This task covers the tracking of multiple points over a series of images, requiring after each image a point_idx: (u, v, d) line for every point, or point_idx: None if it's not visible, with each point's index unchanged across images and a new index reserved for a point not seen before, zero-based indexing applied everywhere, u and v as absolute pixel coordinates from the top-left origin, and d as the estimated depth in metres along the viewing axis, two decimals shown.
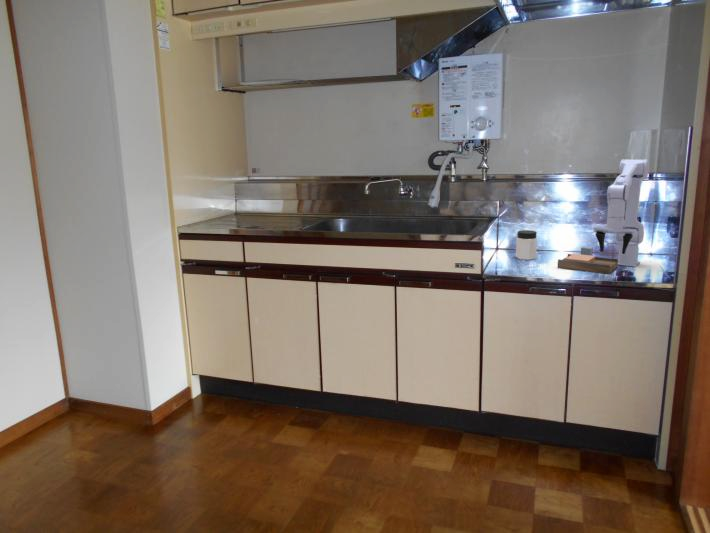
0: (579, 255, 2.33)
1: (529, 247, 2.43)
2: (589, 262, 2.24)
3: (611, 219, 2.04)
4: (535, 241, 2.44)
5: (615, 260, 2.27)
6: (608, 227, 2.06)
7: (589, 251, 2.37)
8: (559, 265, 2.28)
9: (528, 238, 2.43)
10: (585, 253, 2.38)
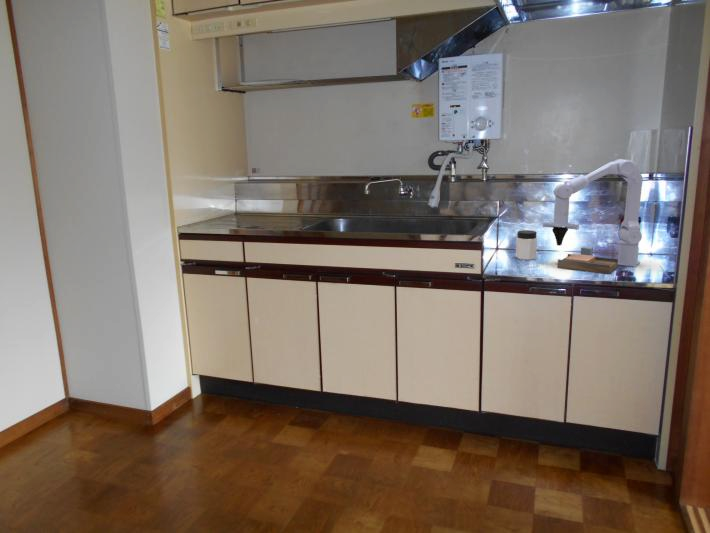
0: (579, 255, 2.33)
1: (529, 247, 2.43)
2: (589, 262, 2.24)
3: (557, 215, 2.29)
4: (535, 241, 2.44)
5: (615, 260, 2.27)
6: (554, 222, 2.31)
7: (589, 251, 2.37)
8: (559, 265, 2.28)
9: (528, 238, 2.43)
10: (585, 253, 2.38)
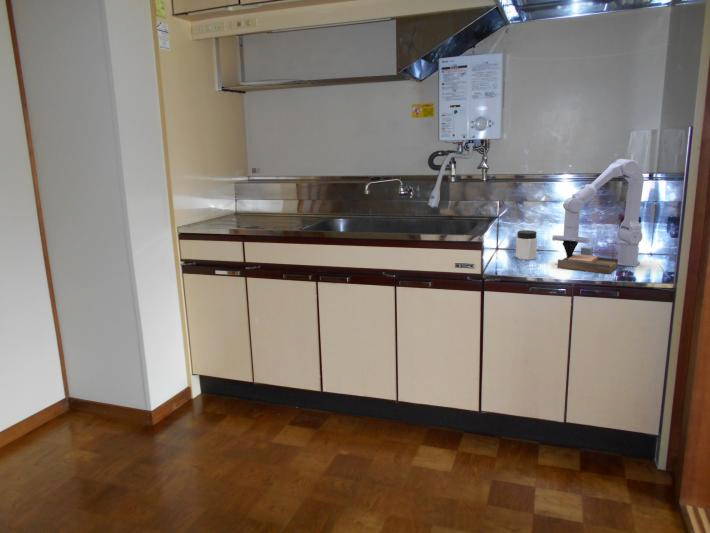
0: (581, 255, 2.32)
1: (529, 247, 2.43)
2: (591, 262, 2.24)
3: (567, 229, 2.28)
4: (535, 241, 2.44)
5: (615, 260, 2.27)
6: (565, 236, 2.29)
7: (589, 251, 2.37)
8: (559, 265, 2.28)
9: (528, 238, 2.43)
10: (585, 253, 2.38)
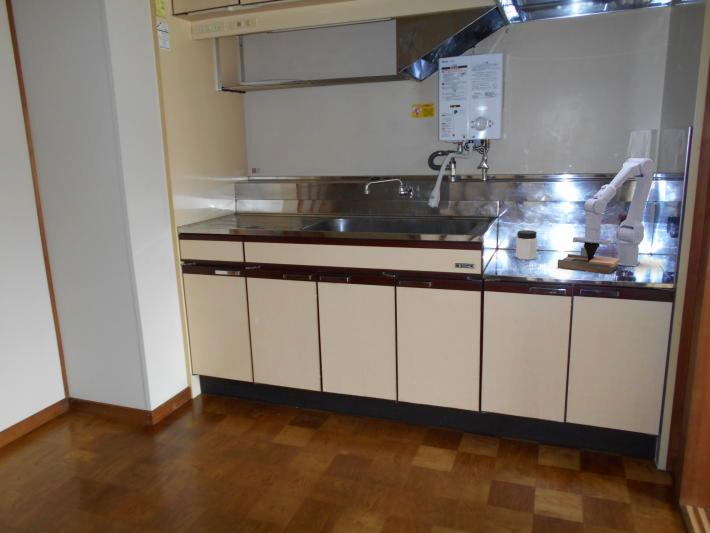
0: (603, 258, 2.27)
1: (529, 247, 2.43)
2: (614, 265, 2.19)
3: (588, 230, 2.23)
4: (535, 241, 2.44)
5: None
6: (586, 238, 2.24)
7: None
8: (559, 265, 2.28)
9: (528, 238, 2.43)
10: (585, 253, 2.38)
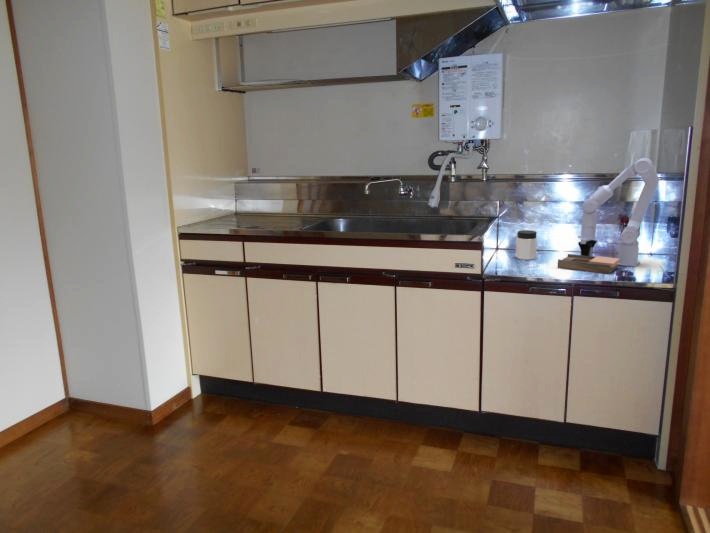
0: (603, 258, 2.27)
1: (529, 247, 2.43)
2: (614, 265, 2.19)
3: None
4: (535, 241, 2.44)
5: None
6: None
7: (589, 251, 2.37)
8: (559, 265, 2.28)
9: (528, 238, 2.43)
10: None
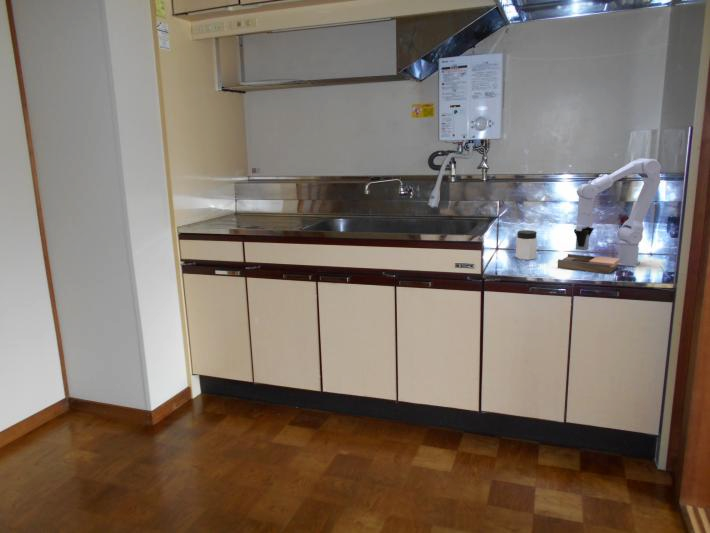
0: (603, 258, 2.27)
1: (529, 247, 2.43)
2: (614, 265, 2.19)
3: None
4: (535, 241, 2.44)
5: None
6: None
7: None
8: (559, 265, 2.28)
9: (528, 238, 2.43)
10: None
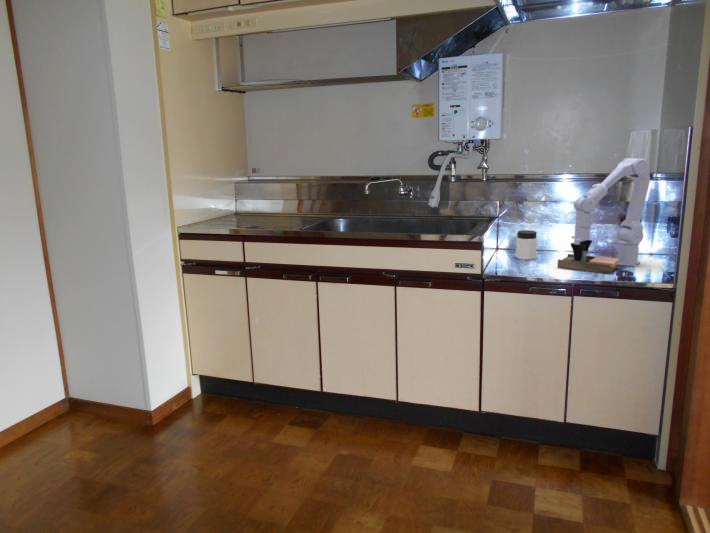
0: (603, 258, 2.27)
1: (529, 247, 2.43)
2: (614, 265, 2.19)
3: None
4: (535, 241, 2.44)
5: None
6: None
7: (582, 255, 2.27)
8: (559, 265, 2.28)
9: (528, 238, 2.43)
10: None
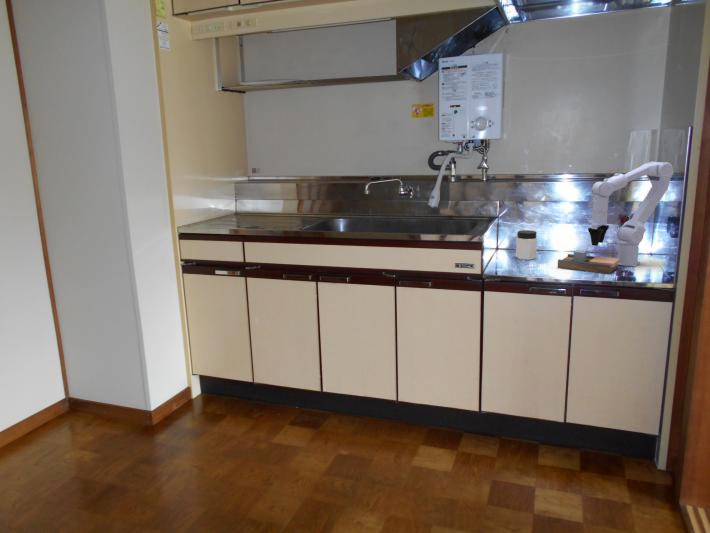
0: (603, 258, 2.27)
1: (529, 247, 2.43)
2: (614, 265, 2.19)
3: None
4: (535, 241, 2.44)
5: None
6: None
7: (582, 255, 2.27)
8: (559, 265, 2.28)
9: (528, 238, 2.43)
10: (578, 257, 2.28)
